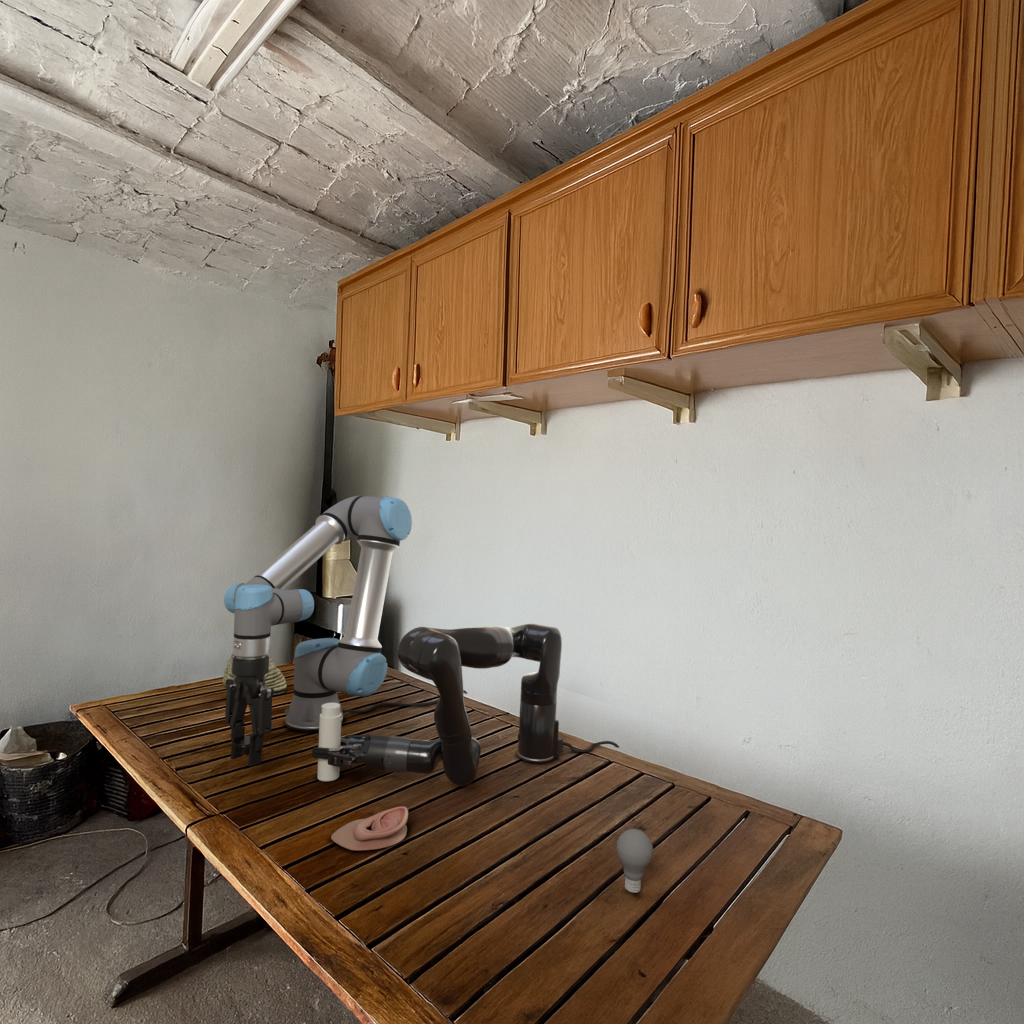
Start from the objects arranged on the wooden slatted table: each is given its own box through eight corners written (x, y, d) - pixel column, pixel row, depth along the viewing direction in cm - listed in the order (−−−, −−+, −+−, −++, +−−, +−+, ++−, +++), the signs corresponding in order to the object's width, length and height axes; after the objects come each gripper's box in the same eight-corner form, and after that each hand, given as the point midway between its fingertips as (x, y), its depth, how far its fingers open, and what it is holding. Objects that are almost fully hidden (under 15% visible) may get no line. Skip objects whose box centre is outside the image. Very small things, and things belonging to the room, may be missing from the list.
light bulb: (610, 879, 108) (613, 822, 108) (644, 879, 109) (647, 822, 109) (619, 902, 102) (622, 840, 102) (655, 901, 103) (658, 840, 103)
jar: (340, 771, 146) (343, 701, 146) (337, 781, 141) (340, 708, 141) (319, 772, 145) (321, 702, 145) (315, 781, 141) (318, 708, 140)
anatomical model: (323, 824, 115) (352, 795, 126) (322, 845, 115) (351, 815, 126) (392, 835, 112) (415, 805, 123) (391, 857, 112) (414, 825, 123)
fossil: (218, 695, 195) (220, 647, 195) (278, 685, 208) (279, 640, 207) (228, 703, 189) (230, 653, 188) (289, 692, 201) (290, 645, 201)
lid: (228, 749, 140) (229, 738, 140) (254, 743, 143) (255, 733, 143) (236, 757, 135) (237, 746, 135) (263, 751, 139) (263, 741, 139)
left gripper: (210, 651, 141) (204, 755, 141) (263, 666, 131) (258, 777, 131) (239, 646, 147) (234, 745, 147) (293, 659, 138) (287, 766, 138)
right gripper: (400, 726, 149) (330, 720, 151) (381, 749, 135) (304, 743, 136) (399, 757, 149) (329, 751, 151) (380, 784, 135) (303, 777, 137)
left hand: (245, 760), depth 139 cm, fingers closed on lid, 5 cm apart
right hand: (318, 747), depth 144 cm, fingers closed on jar, 4 cm apart
